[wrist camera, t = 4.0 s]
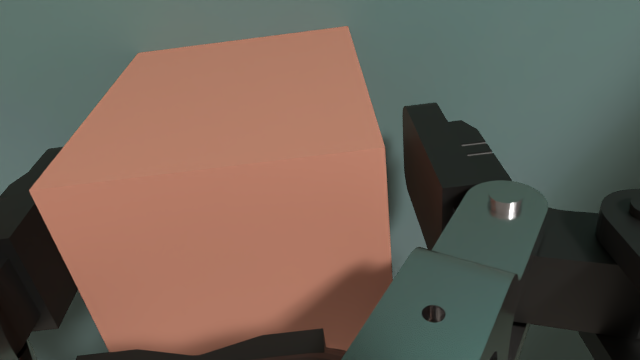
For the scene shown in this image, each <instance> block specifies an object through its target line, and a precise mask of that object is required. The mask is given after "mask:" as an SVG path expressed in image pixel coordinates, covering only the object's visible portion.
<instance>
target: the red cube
mask: <svg viewBox="0 0 640 360" xmlns="http://www.w3.org/2000/svg"><path fill="white" fill-rule="evenodd" d="M29 192H30V194H31V196H32V198H33V200H34V202H35V204H36V206H37V208H38V210H39V212H40V214H41V216H42V218H43V220H44V222H45V224H46V226H47V228H48V230H49V232H50V234H51V236H52V238H53V240H54V242H55V244H56V246H57V248H58V250H59V252H60V254H61V256H62V258H63V260H64V262H65V264H66V266H67V268H68V270H69V272H70V274H71V276H72V278H73V280H74V282H75V284H76V286H77V288H78V290H79V292H80V294H81V296H82V298H83V300H84V302H85V304H86V306H87V308H88V310H89V312H90V314H91V316H92V318H93V320H94V322H95V324H96V326H97V328H98V330H99V332H100V334H101V336H102V338H103V340H104V342H105V344H106V346H107V348H108V350H109V352H117V351H126V350H134V349H140V350H149V351H158V352H166V353H175V354H184V355H201V354H205V353H208V352H211V351H214V350H217V349H220V348H224V347H227V346H230V345H233V344H236V343H239V342H242V341H245V340H249V339H252V338H255V337H258V336H261V335H268V334H277V333H285V332H294V331H303V330H312V329H321V328H323V331H324V337H325V344H326V347H328V348H335V349H341V350H345V351H347V350H348V348H349V347H350V345H351V344H352V342H353V341H354V339H355V338H356V336H357V335H358V333H359V331H360V330H361V328H362V327H363V325H364V324H365V322H366V321H367V319H368V318H369V316H370V315H371V313H372V312H373V310H374V309H375V307H376V305H377V304H378V302H379V301H380V299H381V298H382V296H383V295H384V293H385V292H386V290H387V289H388V287H389V286H390V284H391V283H392V263H391V245H390V227H389V210H388V192H387V174H386V156H385V146H384V142H383V139H382V136H381V133H380V129H379V126H378V123H377V120H376V116H375V113H374V110H373V107H372V103H371V100H370V97H369V93H368V90H367V87H366V84H365V80H364V77H363V74H362V71H361V67H360V64H359V61H358V58H357V54H356V51H355V48H354V45H353V41H352V38H351V35H350V31H349V28H348V26H345V27H337V28H329V29H322V30H314V31H306V32H298V33H290V34H283V35H275V36H267V37H259V38H252V39H244V40H236V41H228V42H220V43H213V44H205V45H197V46H189V47H181V48H174V49H166V50H158V51H150V52H142V53H138V54H137V55H136V56H135V58H134V59H133V60H132V61H131V63H130V64H129V65H128V66H127V68H126V69H125V70H124V71H123V73H122V74H121V75H120V77H119V78H118V79H117V80H116V82H115V83H114V84H113V85H112V87H111V88H110V89H109V90H108V92H107V93H106V94H105V95H104V97H103V98H102V99H101V100H100V102H99V103H98V104H97V105H96V107H95V108H94V109H93V110H92V112H91V113H90V114H89V116H88V117H87V118H86V119H85V121H84V122H83V123H82V124H81V126H80V127H79V128H78V129H77V131H76V132H75V133H74V134H73V136H72V137H71V138H70V139H69V141H68V142H67V143H66V144H65V146H64V147H63V148H62V149H61V151H60V152H59V153H58V154H57V156H56V157H55V158H54V160H53V161H52V162H51V163H50V165H49V166H48V167H47V168H46V170H45V171H44V172H43V173H42V175H41V176H40V177H39V178H38V180H37V181H36V182H35V183H34V185H33V186H32V187H31V188H30V190H29Z"/></svg>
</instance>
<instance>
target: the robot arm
mask: <svg viewBox="0 0 640 360" xmlns="http://www.w3.org/2000/svg"><path fill="white" fill-rule="evenodd" d="M403 146H404V171H405V179H406V185H407V189H408V193H409V196H410V199H411V201H412V204H413V207H414V210H415V213H416V216H417V219H418V222H419V225H420V227H421V230H422V233H423V236H424V239H425V242H426V245H427V248H428V249H425V248H421V247H417V248H415V249H414V250H413V251H412V252H411V254H410V255H409V257H408V258H407V260H406V261H405V263H404V264H403V266H402V267H401V269H400V270H399V272H398V273H397V275H396V276H395V278H394V279H393V281H392V283H391V284H390V286H389V287H388V289H387V290H386V292H385V293H384V295H383V296H382V298H381V299H380V301H379V302H378V304H377V305H376V307H375V309H374V310H373V312H372V313H371V315H370V316H369V318H368V319H367V321H366V322H365V324H364V325H363V327H362V328H361V330H360V331H359V333H358V335H357V336H356V338H355V339H354V341H353V342H352V344H351V345H350V347H349V348H348V350H347V351H345V350H341V349H335V348H328V347H326V344H325V337H324V331H323V328H321V329H312V330H303V331H294V332H285V333H277V334H268V335H261V336H258V337H255V338H252V339H249V340H245V341H242V342H239V343H236V344H233V345H230V346H227V347H224V348H220V349H217V350H214V351H211V352H208V353H205V354H201V355H184V354H175V353H166V352H158V351H149V350H140V349H134V350H126V351H117V352H108V353H99V354H90V355H81V356H77V358H76V360H518V359H519V356H520V353H521V350H522V347H523V344H524V341H525V338H526V336H527V333H528V330H529V327H530V324H534V325H541V326H548V327H555V328H562V329H569V330H576V331H578V332H579V334H580V336H581V338H582V339H583V341H584V343H585V344H586V346H587V348H588V349H589V351H590V353H591V354H592V356H593V358H594V359H595V360H640V189H630V190H621V191H617V192H614V193H612V194H610V195H608V196H607V197H605V198H604V200H603V201H602V203H601V207H600V212H599V214H598V213H586V212H574V211H564V210H557V209H552V208H549V207H548V202H547V200H546V198H545V197H544V196H543V194H541V193H540V192H539V191H538V190H536V189H534V188H532V187H530V186H528V185H525V184H522V183H519V182H514V181H512V180H511V178H510V177H509V175H508V174H507V172H506V171H505V170H504V168H503V167H502V165H501V164H500V162H499V161H498V159H497V158H496V156H495V155H494V153H493V154H492V150H491V149H490V147H489V146H488V144H486V143H485V140H484V139H483V137H482V136H481V134H480V133H479V131H478V130H477V129H476V128H474V127H472V126H470V125H469V124H467V123H465V122H463V121H462V120H460V121H452V122H448V121H447V120H446V118H445V116H444V115H443V113H442V111H441V109H440V108H439V106H438V104H437V103H428V104H420V105H412V106H404V108H403ZM62 148H63V147H59V148H51V149H48V150H47V151H46V152H45V153H44V154H43V155H42V156H41V158H40V159H39V160H38V161H37V162H36V164H35V165H34V166H33V167H32V168H31V170H30V171H29V172H28V173H26V174H25V175H23V176H22V177H20V178H19V179H17V180H16V181H15V182H13V183H12V184H10V185H9V186H8V187H7V189H6V190H5V191H4V192H3V193H2V194H1V196H0V360H37V357H36V354H35V351H34V349H33V347H32V345H31V344H30V342H29V340H28V337H29V335H30V333H31V332H32V331H40V330H49V329H58V328H59V326H60V324H61V322H62V320H63V318H64V316H65V314H66V312H67V310H68V308H69V306H70V304H71V302H72V300H73V298H74V296H75V294H76V292H77V290H78V288H77V286H76V284H75V282H74V280H73V278H72V276H71V274H70V272H69V270H68V268H67V266H66V264H65V262H64V260H63V258H62V256H61V254H60V252H59V250H58V248H57V246H56V244H55V242H54V240H53V238H52V236H51V234H50V232H49V230H48V228H47V226H46V224H45V222H44V220H43V218H42V216H41V214H40V212H39V210H38V208H37V206H36V204H35V202H34V200H33V198H32V196H31V194H30V192H29V190H30V188H31V187H32V186H33V185H34V183H35V182H36V181H37V180H38V178H39V177H40V176H41V175H42V173H43V172H44V171H45V170H46V168H47V167H48V166H49V165H50V163H51V162H52V161H53V160H54V158H55V157H56V156H57V154H58V153H59V152H60V151H61V149H62Z"/></svg>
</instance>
